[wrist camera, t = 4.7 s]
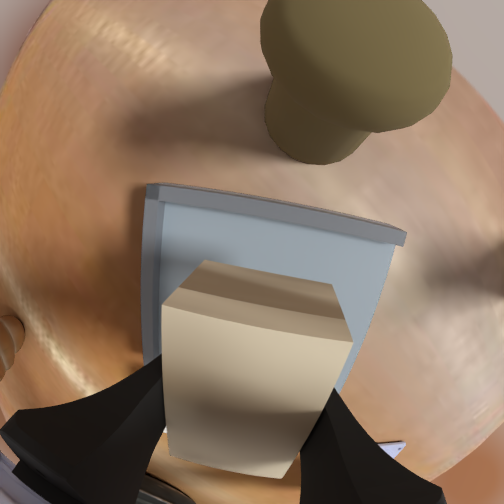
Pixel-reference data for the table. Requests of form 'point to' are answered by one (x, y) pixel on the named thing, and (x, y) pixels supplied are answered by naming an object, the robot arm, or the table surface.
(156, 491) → the frying pan
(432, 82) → the pepper shaker
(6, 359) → the cat ice cream
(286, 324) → the block
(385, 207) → the table surface
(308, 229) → the dock
